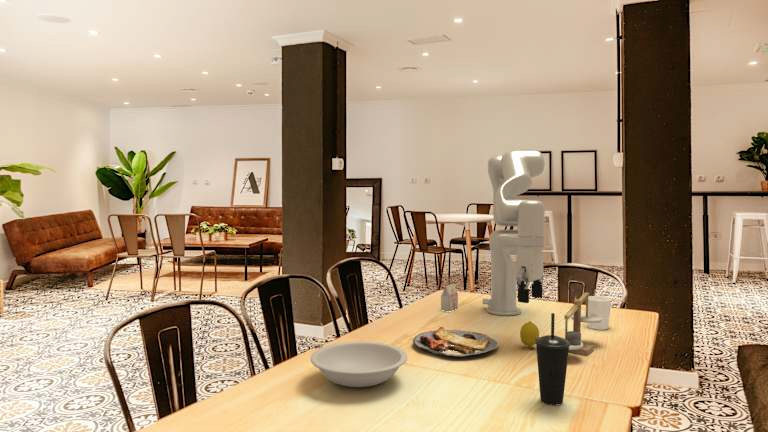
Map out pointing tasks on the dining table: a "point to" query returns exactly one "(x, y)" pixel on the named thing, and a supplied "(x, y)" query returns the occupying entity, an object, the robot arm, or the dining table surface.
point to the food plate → (455, 342)
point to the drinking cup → (552, 366)
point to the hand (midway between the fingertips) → (530, 299)
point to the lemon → (529, 334)
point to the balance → (579, 326)
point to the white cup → (599, 311)
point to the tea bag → (449, 298)
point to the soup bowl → (358, 362)
